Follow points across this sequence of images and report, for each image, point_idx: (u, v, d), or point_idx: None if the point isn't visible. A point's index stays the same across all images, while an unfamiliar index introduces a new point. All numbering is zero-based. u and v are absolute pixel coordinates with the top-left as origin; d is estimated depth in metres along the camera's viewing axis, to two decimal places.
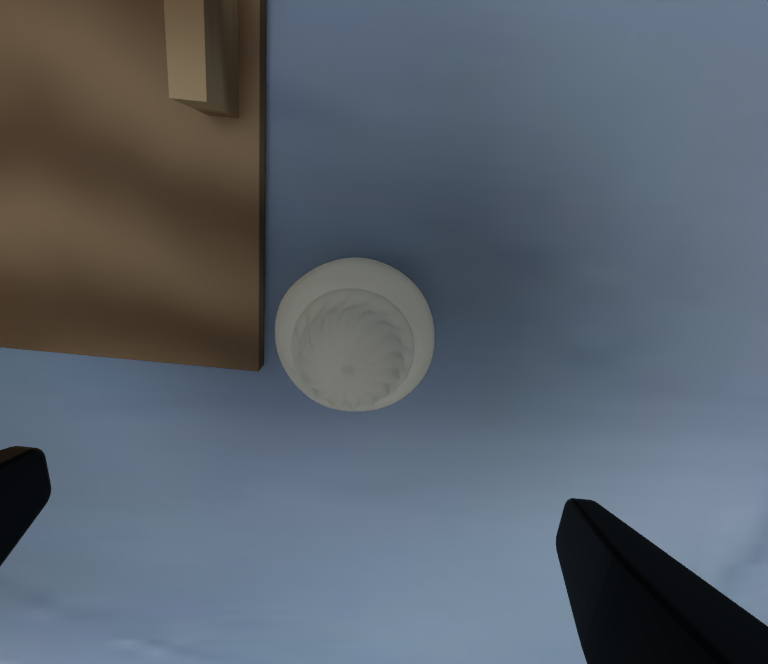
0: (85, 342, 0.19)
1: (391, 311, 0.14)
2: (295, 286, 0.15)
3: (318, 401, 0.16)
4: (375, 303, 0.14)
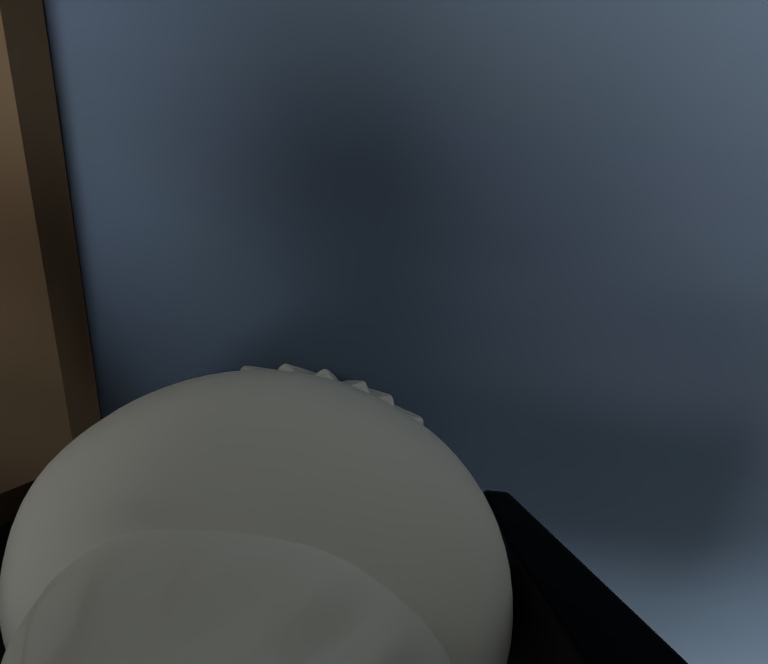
0: None
1: (366, 638, 0.03)
2: (39, 483, 0.04)
3: None
4: (295, 621, 0.03)
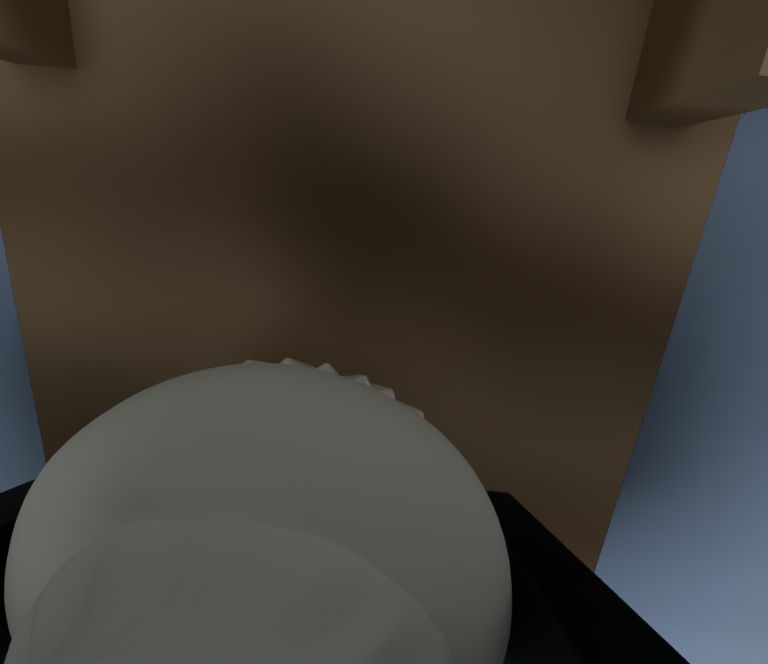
0: None
1: (368, 625, 0.03)
2: (45, 475, 0.04)
3: None
4: (299, 607, 0.03)
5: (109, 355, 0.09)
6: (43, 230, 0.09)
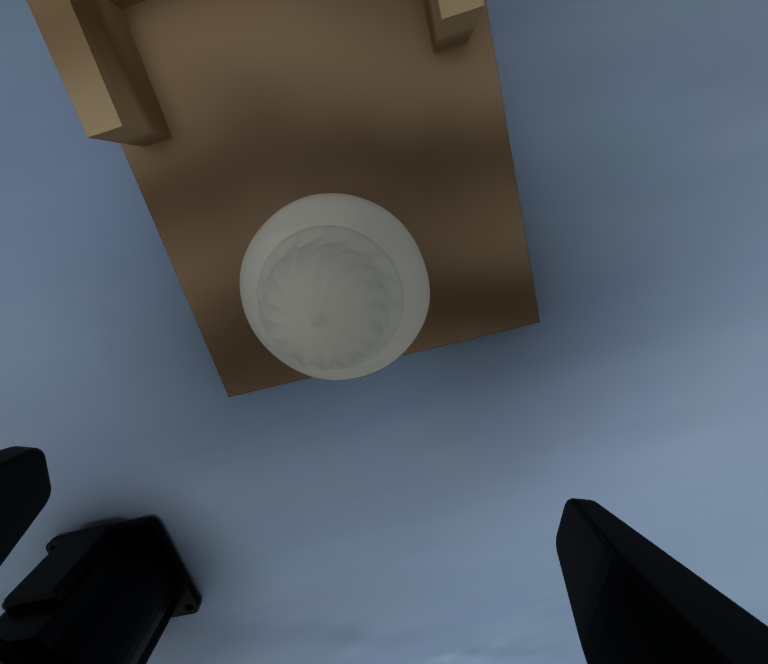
0: None
1: (353, 238, 0.12)
2: (246, 254, 0.13)
3: (318, 375, 0.14)
4: (331, 235, 0.12)
5: (227, 281, 0.17)
6: (178, 224, 0.17)
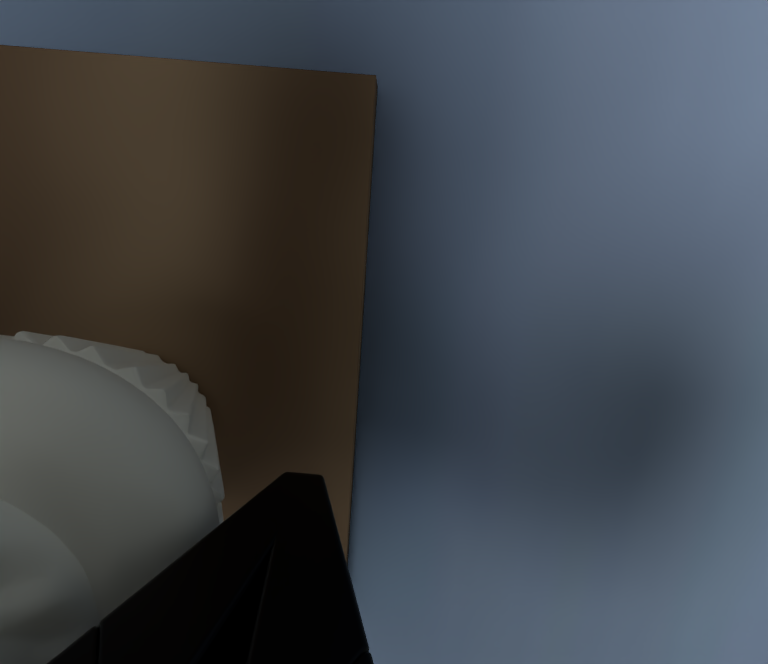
0: (325, 461, 0.10)
1: None
2: None
3: None
4: None
5: None
6: None
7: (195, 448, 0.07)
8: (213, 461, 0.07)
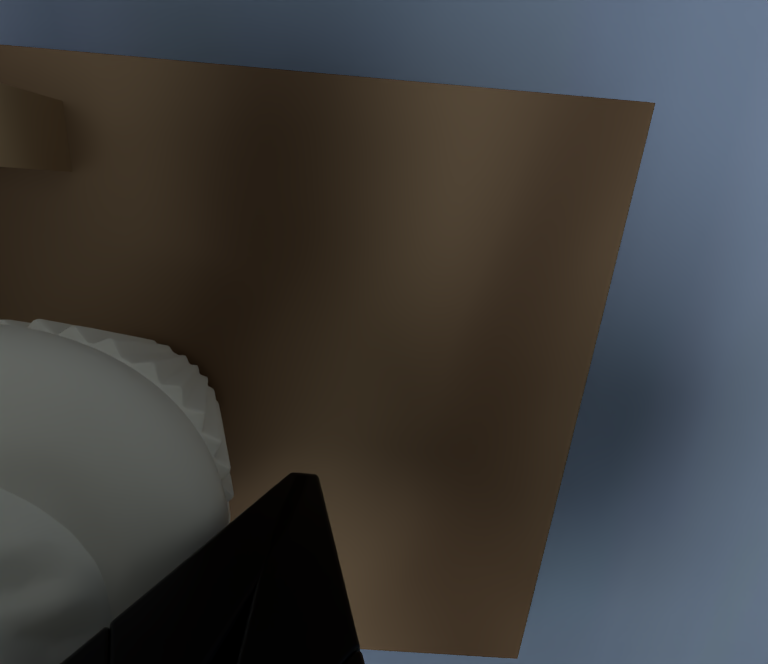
0: (536, 474, 0.10)
1: None
2: None
3: None
4: None
5: None
6: None
7: (208, 447, 0.07)
8: (224, 460, 0.07)
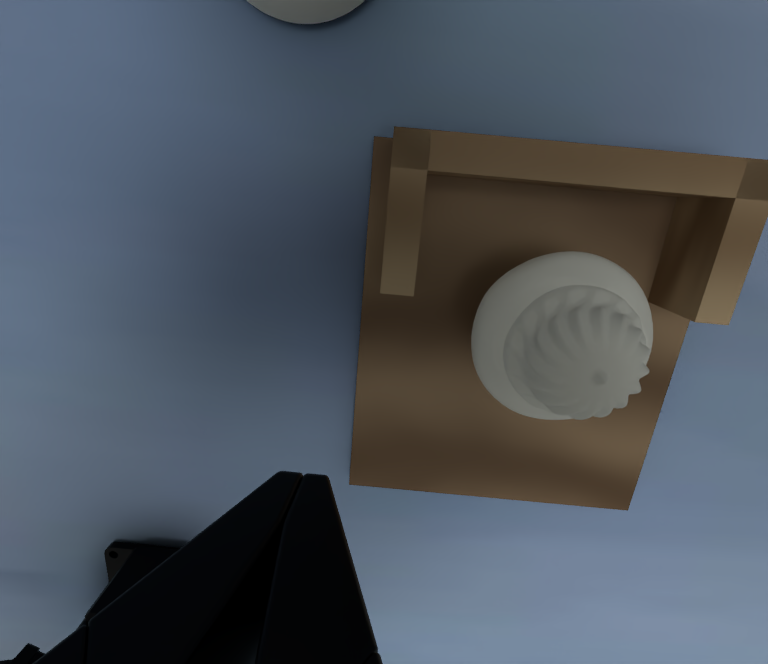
0: (471, 485, 0.21)
1: (633, 315, 0.13)
2: (515, 277, 0.14)
3: (512, 405, 0.15)
4: (620, 304, 0.13)
5: (396, 399, 0.20)
6: (379, 343, 0.19)
7: None
8: None
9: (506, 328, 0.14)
